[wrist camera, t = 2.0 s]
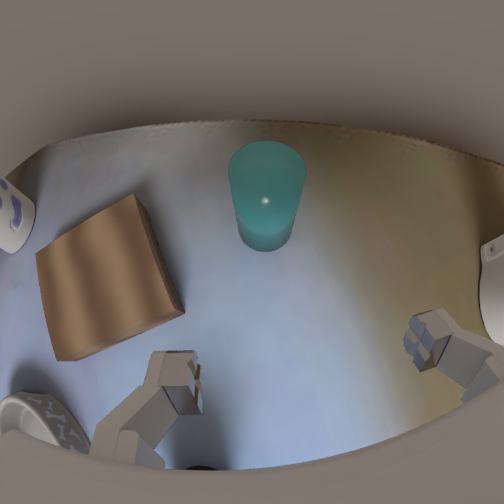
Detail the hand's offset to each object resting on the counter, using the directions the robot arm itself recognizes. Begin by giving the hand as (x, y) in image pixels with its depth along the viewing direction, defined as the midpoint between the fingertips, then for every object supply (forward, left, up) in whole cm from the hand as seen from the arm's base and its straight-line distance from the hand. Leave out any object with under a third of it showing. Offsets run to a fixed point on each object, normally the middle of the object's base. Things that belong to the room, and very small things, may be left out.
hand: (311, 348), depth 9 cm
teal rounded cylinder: (-5, -12, -18) cm, 23 cm away
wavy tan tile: (+15, -14, -18) cm, 28 cm away
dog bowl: (+36, +3, -19) cm, 41 cm away
